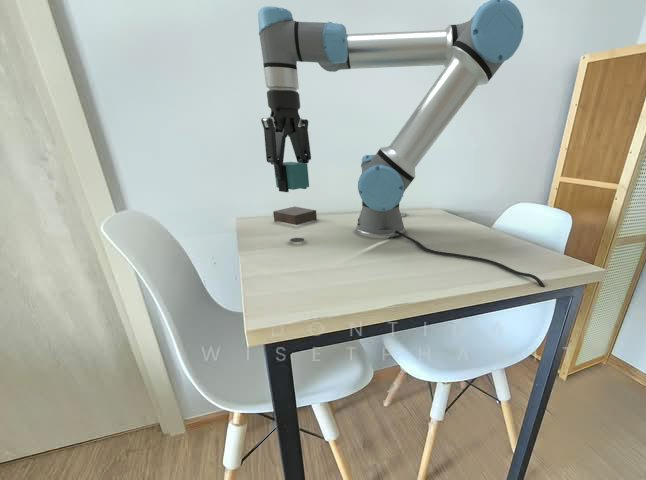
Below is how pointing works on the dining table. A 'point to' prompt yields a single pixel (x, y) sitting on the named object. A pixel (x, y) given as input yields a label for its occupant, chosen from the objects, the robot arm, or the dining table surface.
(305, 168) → the block
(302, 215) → the block
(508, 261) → the dining table surface
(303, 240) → the cap
